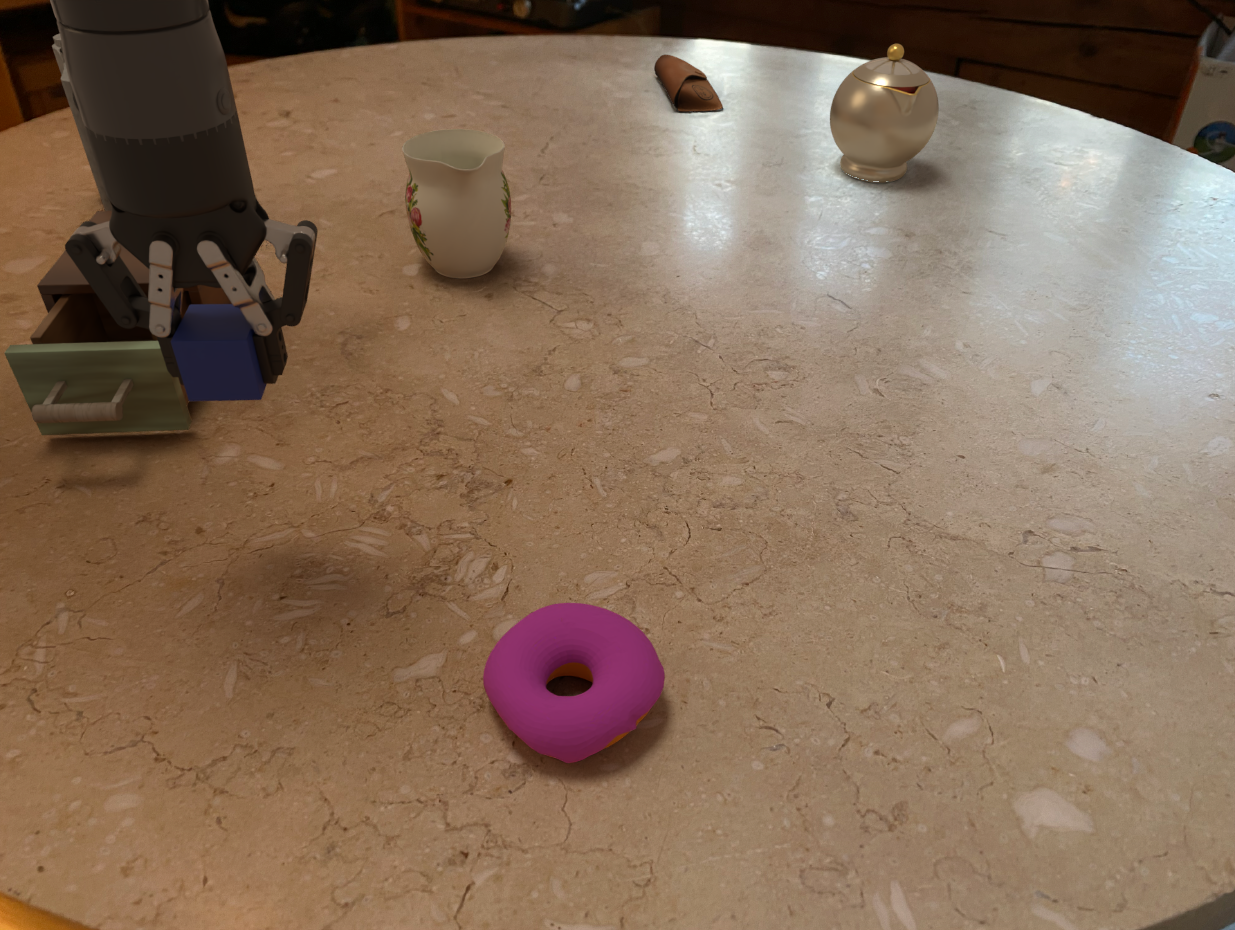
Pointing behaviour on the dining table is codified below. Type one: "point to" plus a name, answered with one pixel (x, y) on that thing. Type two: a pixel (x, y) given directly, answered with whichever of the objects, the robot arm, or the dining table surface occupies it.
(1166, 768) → the dining table surface
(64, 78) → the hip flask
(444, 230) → the pitcher
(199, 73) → the robot arm
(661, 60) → the sunglasses case
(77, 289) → the cabinet
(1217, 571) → the dining table surface
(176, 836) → the dining table surface
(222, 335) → the navy blue cube
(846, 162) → the teapot
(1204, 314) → the dining table surface
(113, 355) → the compartment
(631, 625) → the donut
